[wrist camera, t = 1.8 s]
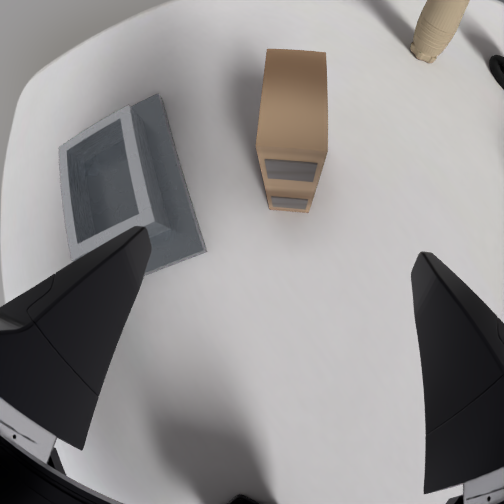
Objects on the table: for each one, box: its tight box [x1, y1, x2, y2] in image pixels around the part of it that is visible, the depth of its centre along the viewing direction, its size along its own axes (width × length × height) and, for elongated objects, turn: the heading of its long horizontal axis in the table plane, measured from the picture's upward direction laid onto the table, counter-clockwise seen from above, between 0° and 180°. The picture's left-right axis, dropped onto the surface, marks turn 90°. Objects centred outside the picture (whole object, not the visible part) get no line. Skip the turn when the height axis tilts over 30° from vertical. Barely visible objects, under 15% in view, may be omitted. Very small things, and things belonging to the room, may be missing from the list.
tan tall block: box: [256, 49, 328, 213], centre depth 17 cm, size 6×3×11 cm, turn 174°
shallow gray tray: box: [59, 94, 207, 276], centre depth 22 cm, size 16×12×4 cm
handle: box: [410, 0, 469, 63], centre depth 15 cm, size 5×6×15 cm
